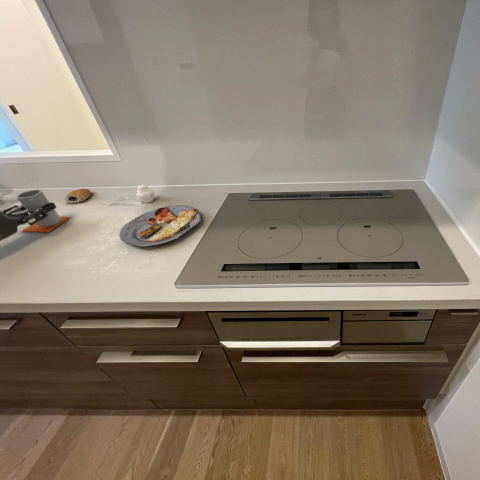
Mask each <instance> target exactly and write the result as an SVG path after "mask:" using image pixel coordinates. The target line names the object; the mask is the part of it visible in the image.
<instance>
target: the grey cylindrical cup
mask: <svg viewBox="0 0 480 480" xmlns="http://www.w3.org/2000/svg"><path fill="white" fill-rule="evenodd" d="M16 199H17V200H18V201H19V203H20V205H23V206H24V208H25V209H26V210H27V209H32V210H33V209H36V208H39V207H42V206H44V205H46V204H48V203H50V200H49V199H48V197H47V196H46V194H45V193H44V191H42V190H41V189H30V190H27V191H23V192H20V193H19V194H17V195H16ZM36 212H37V211H36ZM28 213H29V212H28ZM34 213H35V212H34ZM47 214H48V215H49V216H48V217H46V218H44V219H42V220H40V221H39V222H37V224H38V225H39V226H40V227H47V226H51V225H54V224H56V223H58V222H60V221H61V218H60V217H61V216H60V215H59V213H58V212H57V210H56V208H55V209H53V210H51V211H49V212H47ZM29 215H31V213H29ZM40 217H41V216H40Z"/></svg>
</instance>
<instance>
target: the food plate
mask: <svg viewBox="0 0 480 480" xmlns="http://www.w3.org/2000/svg"><path fill="white" fill-rule="evenodd" d="M201 220H202V215H201V211H200V210H199V209H198V208H195V207H193V206H189V205H184V204H178V205H167V206H166V205H164V206H162V207H159V208H155V209H152V210H150V211H146V212H144V213H142V214H140V215H138V216H137V217H135V218H134V219H132V220H130V221H128V223H125V224H124V225H123V226H122V227H121V229H120V230H119V234H118V235H119V239H120V240H121V241H122V242H123V243H125V244H128V245H132V246H137V247H149V246H157V245H161V244H165V243H167V242H171V241H174V240H175V239H179V238H180V237H181V236H183V235H184V234H186V233H187V232H188V231H190V230H191V229H192V228H194V227H195V226H196V225H197V224H199V223H200V222H201Z"/></svg>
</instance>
